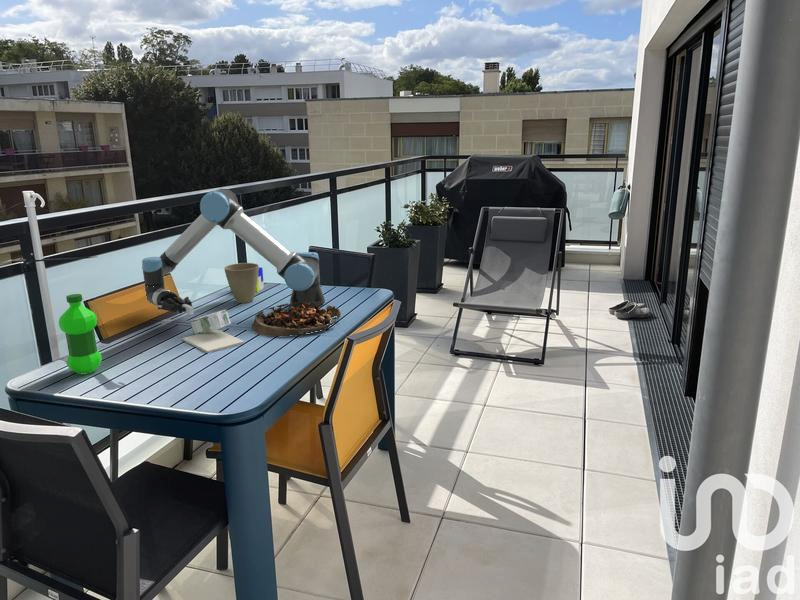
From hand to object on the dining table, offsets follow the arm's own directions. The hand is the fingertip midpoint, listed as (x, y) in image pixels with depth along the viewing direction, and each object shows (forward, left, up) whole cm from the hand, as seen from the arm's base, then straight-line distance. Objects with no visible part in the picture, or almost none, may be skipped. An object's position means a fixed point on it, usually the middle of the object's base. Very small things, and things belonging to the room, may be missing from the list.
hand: (191, 310), depth 227 cm
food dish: (-38, -8, -10) cm, 40 cm away
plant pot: (-11, -45, -9) cm, 47 cm away
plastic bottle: (+24, +36, -9) cm, 44 cm away
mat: (-10, +11, -9) cm, 17 cm away
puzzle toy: (-10, -66, -9) cm, 68 cm away
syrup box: (-1, -1, -6) cm, 6 cm away
